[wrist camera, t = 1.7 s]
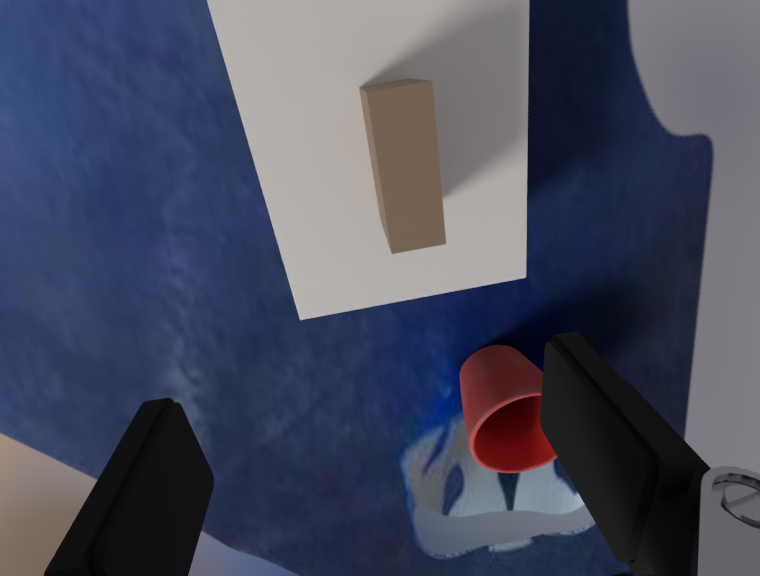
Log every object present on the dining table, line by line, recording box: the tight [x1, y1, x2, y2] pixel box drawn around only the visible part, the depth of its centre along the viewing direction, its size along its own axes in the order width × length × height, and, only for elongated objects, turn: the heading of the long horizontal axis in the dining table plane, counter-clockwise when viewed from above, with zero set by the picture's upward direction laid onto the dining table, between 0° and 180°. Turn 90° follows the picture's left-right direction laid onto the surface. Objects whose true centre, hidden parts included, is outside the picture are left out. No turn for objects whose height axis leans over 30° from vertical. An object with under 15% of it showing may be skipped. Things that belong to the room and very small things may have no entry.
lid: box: [207, 0, 529, 320], centre depth 24 cm, size 21×17×8 cm
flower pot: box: [460, 345, 557, 473], centre depth 44 cm, size 11×11×10 cm
